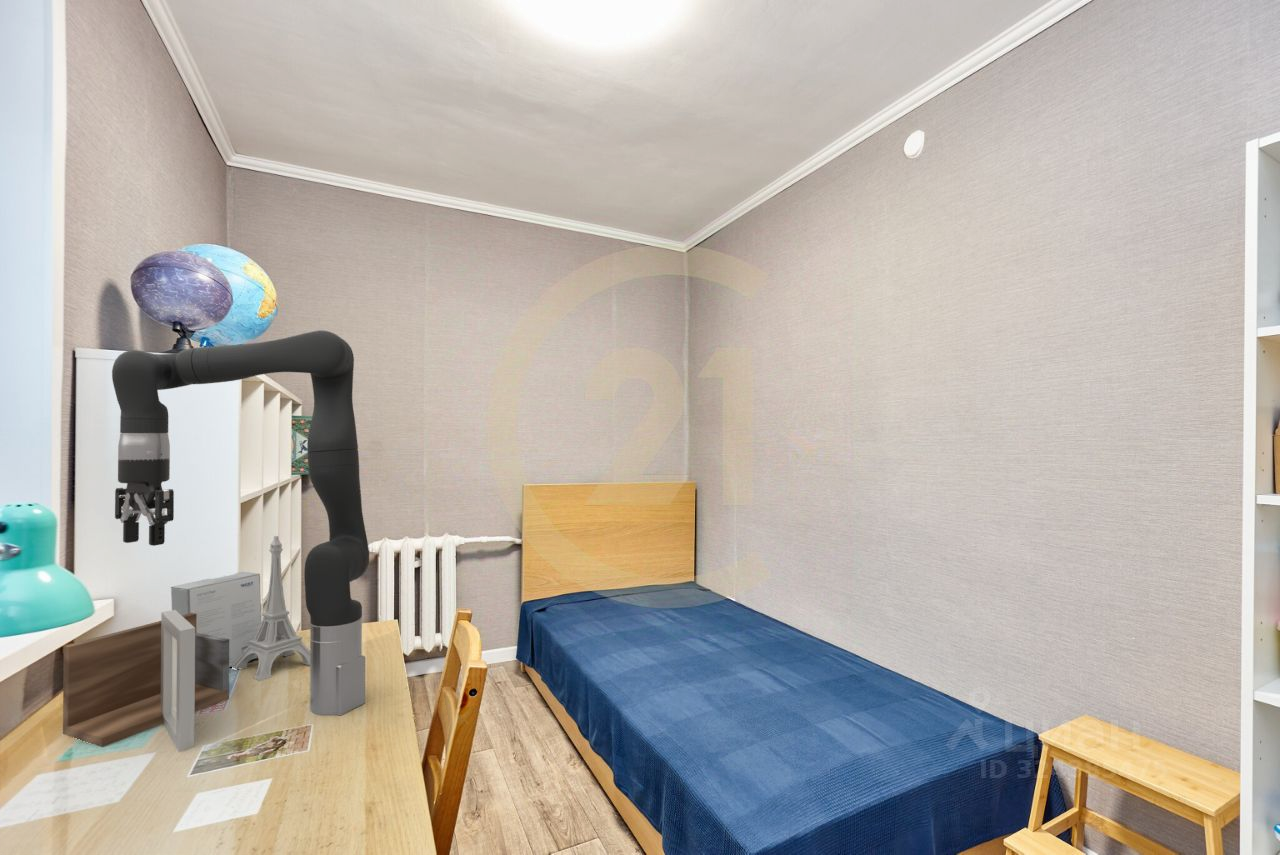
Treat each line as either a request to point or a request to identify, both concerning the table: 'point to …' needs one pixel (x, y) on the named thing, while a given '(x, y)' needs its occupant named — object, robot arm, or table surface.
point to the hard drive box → (223, 608)
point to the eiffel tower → (273, 626)
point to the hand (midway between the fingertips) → (143, 543)
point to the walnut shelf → (132, 682)
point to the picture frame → (178, 678)
